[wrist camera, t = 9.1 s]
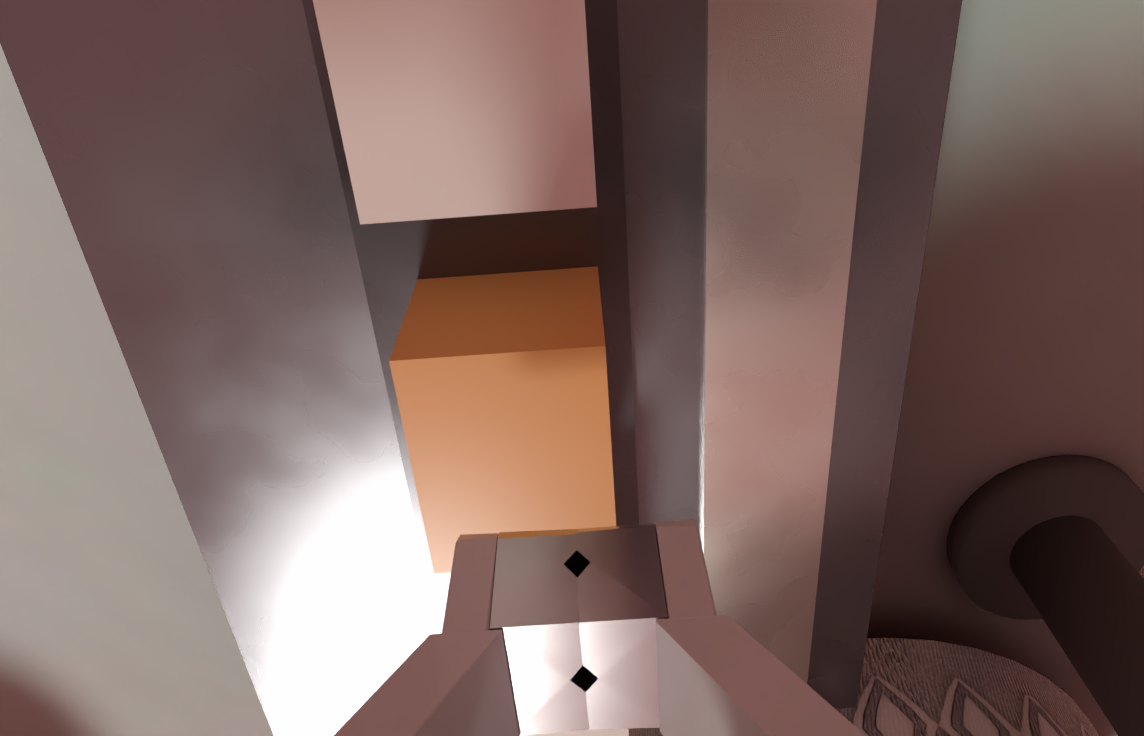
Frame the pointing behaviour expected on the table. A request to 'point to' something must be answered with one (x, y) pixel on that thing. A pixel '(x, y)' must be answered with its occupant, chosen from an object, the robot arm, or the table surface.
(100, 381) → the table surface
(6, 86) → the table surface
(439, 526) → the orange block
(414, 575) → the dark grey slotted tray
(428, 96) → the light pink block
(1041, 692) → the planter
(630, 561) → the robot arm
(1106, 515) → the post
